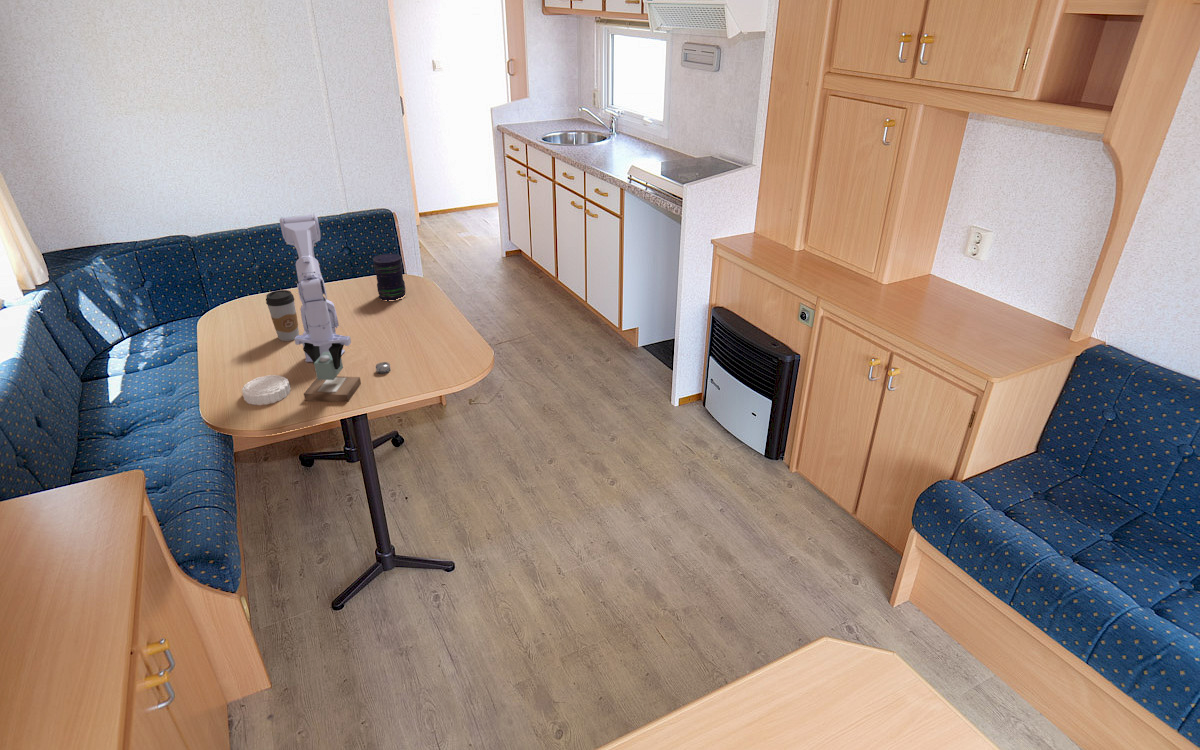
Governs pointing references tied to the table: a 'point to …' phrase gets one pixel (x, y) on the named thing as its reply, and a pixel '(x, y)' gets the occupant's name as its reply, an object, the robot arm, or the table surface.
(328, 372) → the block
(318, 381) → the stand
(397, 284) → the storage jar
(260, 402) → the mooncake
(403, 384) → the table surface
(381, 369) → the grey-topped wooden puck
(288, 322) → the coffee cup
